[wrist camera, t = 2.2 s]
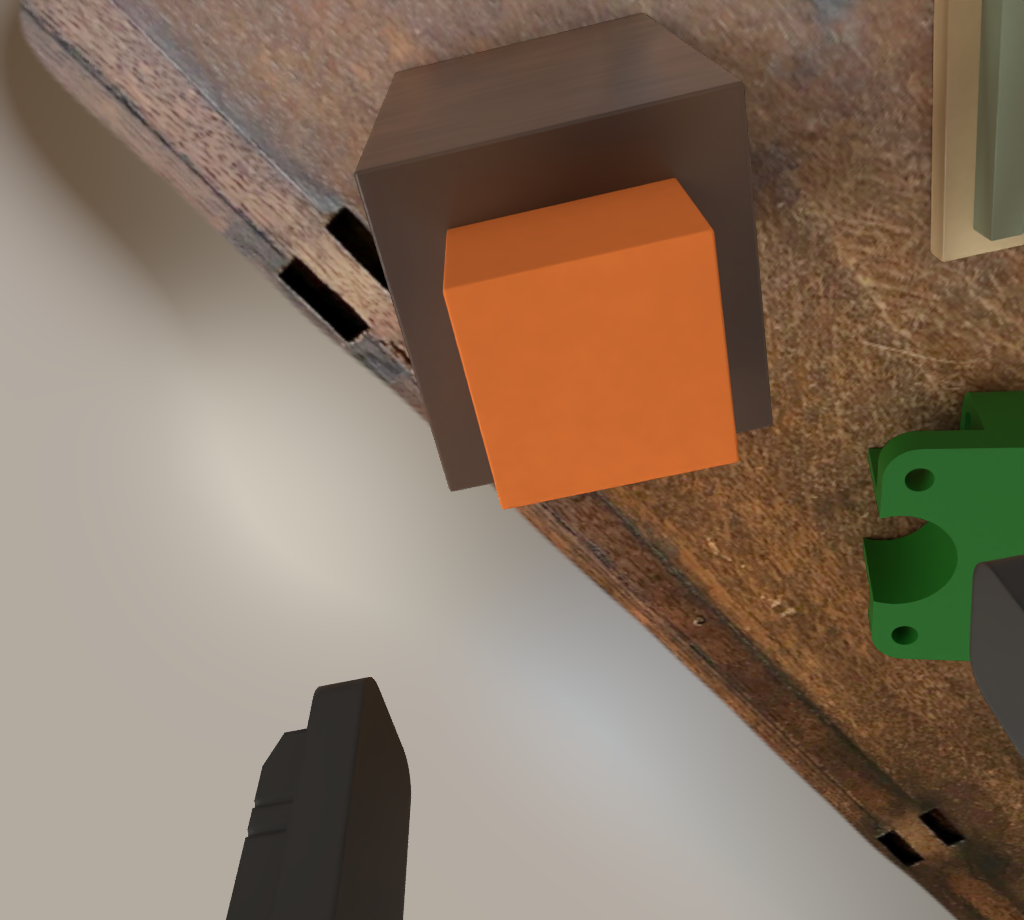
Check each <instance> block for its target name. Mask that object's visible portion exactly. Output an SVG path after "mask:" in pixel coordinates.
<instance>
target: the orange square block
mask: <svg viewBox="0 0 1024 920" xmlns="http://www.w3.org/2000/svg"><path fill="white" fill-rule="evenodd" d="M443 295H444V298H445V302H446V306H447V309H448V313H449V317H450V320H451V324H452V328H453V331H454V335H455V339H456V342H457V346H458V350H459V354H460V357H461V361H462V365H463V368H464V372H465V376H466V379H467V383H468V387H469V390H470V394H471V398H472V401H473V405H474V409H475V412H476V416H477V420H478V423H479V427H480V431H481V434H482V438H483V442H484V445H485V449H486V453H487V456H488V460H489V464H490V467H491V471H492V475H493V479H494V482H495V486H496V490H497V493H498V497H499V501H500V504H501V507H502V509H509V508H514V507H519V506H524V505H529V504H534V503H539V502H543V501H548V500H553V499H558V498H563V497H568V496H573V495H578V494H583V493H588V492H593V491H597V490H602V489H607V488H612V487H617V486H622V485H627V484H632V483H637V482H642V481H647V480H652V479H656V478H661V477H666V476H671V475H676V474H681V473H686V472H691V471H696V470H701V469H706V468H710V467H715V466H720V465H725V464H730V463H735V462H738V460H739V456H738V447H737V438H736V428H735V419H734V410H733V401H732V391H731V382H730V373H729V364H728V355H727V345H726V336H725V327H724V318H723V309H722V299H721V290H720V281H719V272H718V263H717V253H716V244H715V235H714V230H713V229H712V227H711V226H710V225H709V223H708V222H707V221H706V219H705V218H704V216H703V215H702V214H701V212H700V211H699V210H698V208H697V207H696V205H695V204H694V203H693V201H692V200H691V198H690V197H689V196H688V194H687V193H686V192H685V190H684V189H683V187H682V186H681V185H680V183H679V182H678V181H677V179H676V178H671V179H667V180H663V181H658V182H654V183H649V184H645V185H641V186H636V187H632V188H628V189H623V190H619V191H614V192H610V193H606V194H601V195H597V196H593V197H588V198H584V199H579V200H575V201H571V202H566V203H562V204H558V205H553V206H549V207H544V208H540V209H536V210H531V211H527V212H523V213H518V214H514V215H509V216H505V217H501V218H496V219H492V220H487V221H483V222H479V223H474V224H470V225H466V226H461V227H457V228H452V229H449V230H447V236H446V251H445V266H444V281H443Z"/></svg>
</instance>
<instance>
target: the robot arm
mask: <svg viewBox="0 0 1024 920" xmlns="http://www.w3.org/2000/svg"><path fill="white" fill-rule="evenodd" d="M969 653H970V661H971V666H972V670H973V673H974V677H975V679H976V682H977V685H978V687H979V689H980V691H981V693H982V695H983V697H984V699H985V700H986V702H987V703H988V705H989V707H990V708H991V710H992V711H993V713H994V714H995V716H996V718H997V719H998V721H999V722H1000V724H1001V725H1002V727H1003V729H1004V730H1005V732H1006V733H1007V735H1008V736H1009V738H1010V739H1011V741H1012V743H1013V744H1014V746H1015V747H1016V749H1017V750H1018V752H1019V754H1020V755H1021V757H1022V758H1023V760H1024V554H1022V555H1017V556H1012V557H1007V558H1001V559H996V560H991V561H986V562H980V563H978V564H977V565H976V566H975V568H974V571H973V579H972V600H971V621H970V642H969ZM254 802H255V808H253V809H252V813H251V817H250V822H249V826H248V837H246V838H245V842H244V847H243V851H242V855H241V859H240V864H239V868H238V872H237V876H236V880H235V885H234V889H233V893H232V897H231V901H230V906H229V910H228V914H227V918H226V920H403V911H404V895H405V881H406V865H407V849H408V835H409V820H410V805H411V784H410V775H409V768H408V763H407V759H406V755H405V752H404V749H403V747H402V745H401V742H400V739H399V737H398V734H397V732H396V729H395V727H394V725H393V722H392V719H391V717H390V714H389V712H388V709H387V707H386V705H385V702H384V700H383V697H382V695H381V692H380V690H379V687H378V685H377V683H376V681H375V680H374V679H373V678H372V677H368V678H362V679H357V680H351V681H346V682H341V683H336V684H330V685H325V686H321V687H318V688H317V689H316V691H315V693H314V696H313V701H312V706H311V712H310V716H309V721H308V726H307V729H302V730H297V731H291V732H286V733H284V735H283V736H282V738H281V739H280V741H279V742H278V744H277V745H276V747H275V748H274V750H273V751H272V753H271V754H270V756H269V758H268V759H267V760H266V762H265V763H264V765H263V767H262V771H261V775H260V779H259V784H258V788H257V792H256V797H255V800H254Z"/></svg>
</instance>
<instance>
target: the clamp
mask: <svg viewBox="0 0 1024 920" xmlns="http://www.w3.org/2000/svg"><path fill="white" fill-rule="evenodd" d="M868 462H869V467H870V472H871V477H872V482H873V487H874V492H875V497H876V503H877V508H878V513H879V518H884V517H890V516H911V517H917V518H921V519H924V520H927V521H928V522H927V523H926V524H925V525H924V526H923V527H922V528H920V529H919V530H917V531H915V532H914V533H912V534H909V535H907V536H904V537H901V538H897V539H892V540H871V539H866V538H863V552H864V558H865V564H866V571H867V577H868V583H869V589H870V594H869V609H868V618H869V624H870V631H871V637H872V641H873V644H874V645H875V647H876V648H877V649H878V650H879V651H881V652H882V653H884V654H886V655H888V656H891V657H895V658H902V659H929V660H956V661H970V653H969V642H970V621H971V600H972V579H973V571H974V568H975V566H976V565H977V564H978V563H980V562H986V561H991V560H996V559H1001V558H1007V557H1012V556H1017V555H1022V554H1024V391H993V392H967V393H966V394H965V396H964V399H963V404H962V411H961V419H960V428H959V430H948V431H912V432H907V433H903V434H901V435H898V436H896V437H894V438H893V439H891V440H890V441H889V442H888V443H887V444H886V445H885V446H884V447H883V448H880V449H868Z"/></svg>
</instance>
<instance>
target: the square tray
mask: <svg viewBox="0 0 1024 920" xmlns="http://www.w3.org/2000/svg"><path fill="white" fill-rule="evenodd" d="M1020 245H1024V0H934V52H933V121H932V190H931V253H932V254H933V255H935V256H936V257H937V258H938V259H940V260H941V261H942V262H946V261H951V260H955V259H960V258H964V257H969V256H974V255H978V254H983V253H988V252H992V251H997V250H1001V249H1006V248H1011V247H1015V246H1020Z"/></svg>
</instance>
